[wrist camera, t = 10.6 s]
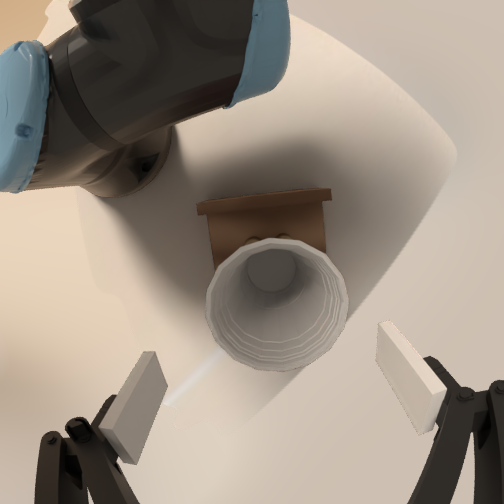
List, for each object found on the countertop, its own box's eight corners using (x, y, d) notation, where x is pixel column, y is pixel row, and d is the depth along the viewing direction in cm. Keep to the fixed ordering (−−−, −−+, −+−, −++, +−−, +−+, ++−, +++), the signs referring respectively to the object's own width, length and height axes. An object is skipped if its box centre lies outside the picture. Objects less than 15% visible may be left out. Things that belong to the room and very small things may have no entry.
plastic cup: (290, 200, 30) (310, 210, 19) (333, 283, 32) (368, 333, 21) (204, 249, 32) (174, 286, 20) (252, 325, 34) (250, 390, 22)
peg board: (206, 200, 35) (196, 203, 29) (318, 187, 34) (330, 188, 28) (224, 317, 39) (219, 340, 33) (326, 306, 38) (337, 327, 32)
